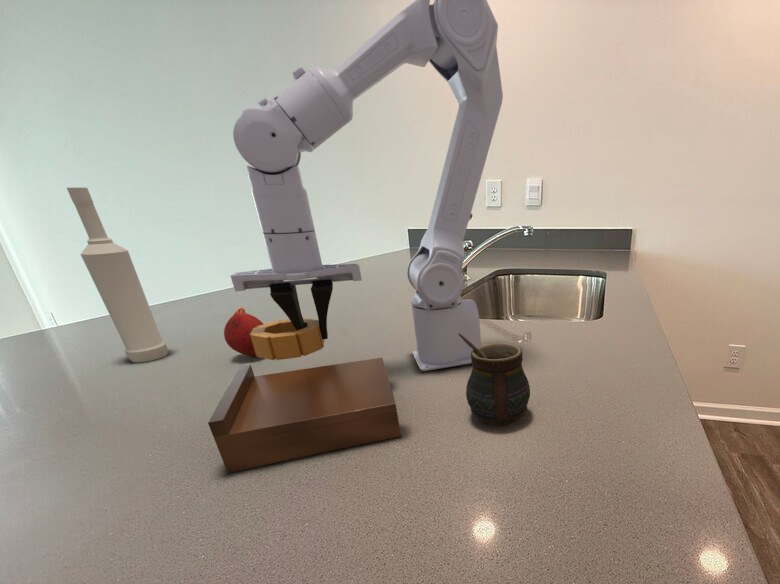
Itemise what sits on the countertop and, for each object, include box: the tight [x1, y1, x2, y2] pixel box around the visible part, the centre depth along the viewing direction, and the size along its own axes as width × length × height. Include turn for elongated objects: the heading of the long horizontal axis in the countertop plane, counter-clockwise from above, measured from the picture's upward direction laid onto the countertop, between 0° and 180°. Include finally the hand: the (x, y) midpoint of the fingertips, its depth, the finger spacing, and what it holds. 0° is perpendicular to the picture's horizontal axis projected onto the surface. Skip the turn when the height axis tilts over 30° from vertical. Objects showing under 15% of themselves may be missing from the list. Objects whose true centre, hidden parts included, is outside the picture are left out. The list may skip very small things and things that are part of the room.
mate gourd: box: [458, 333, 531, 427], centre depth 45 cm, size 7×8×10 cm
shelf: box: [207, 357, 402, 474], centre depth 45 cm, size 16×14×6 cm
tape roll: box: [250, 317, 325, 361], centre depth 54 cm, size 8×8×3 cm
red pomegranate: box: [223, 306, 264, 358], centre depth 64 cm, size 6×6×8 cm
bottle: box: [66, 187, 169, 363], centre depth 61 cm, size 5×5×25 cm
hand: (314, 338), depth 55 cm, fingers closed on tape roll, 2 cm apart
